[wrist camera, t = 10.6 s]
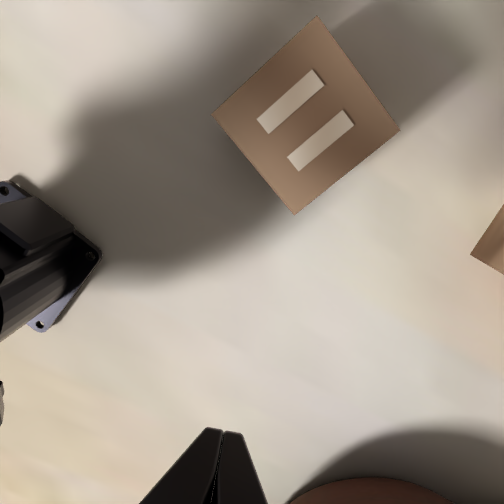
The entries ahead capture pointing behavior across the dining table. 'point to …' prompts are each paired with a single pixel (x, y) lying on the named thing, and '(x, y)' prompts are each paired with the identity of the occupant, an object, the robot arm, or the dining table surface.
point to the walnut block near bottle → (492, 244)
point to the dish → (370, 493)
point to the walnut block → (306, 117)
